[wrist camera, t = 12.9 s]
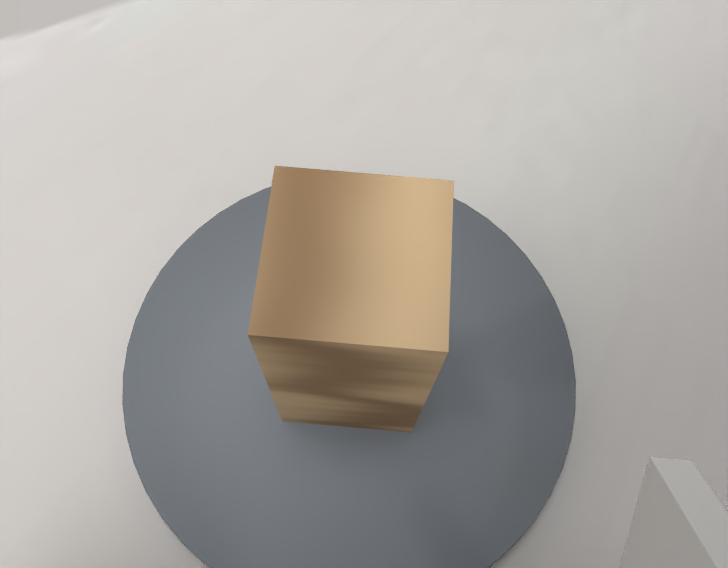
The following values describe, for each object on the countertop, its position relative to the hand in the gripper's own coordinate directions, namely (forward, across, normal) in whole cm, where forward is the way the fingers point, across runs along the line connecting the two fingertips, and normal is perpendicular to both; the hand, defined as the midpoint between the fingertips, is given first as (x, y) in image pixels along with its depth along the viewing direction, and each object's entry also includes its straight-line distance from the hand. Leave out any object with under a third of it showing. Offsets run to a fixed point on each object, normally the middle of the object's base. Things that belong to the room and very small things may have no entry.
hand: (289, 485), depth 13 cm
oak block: (+14, +1, -4) cm, 14 cm away
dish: (+15, +1, -6) cm, 16 cm away
